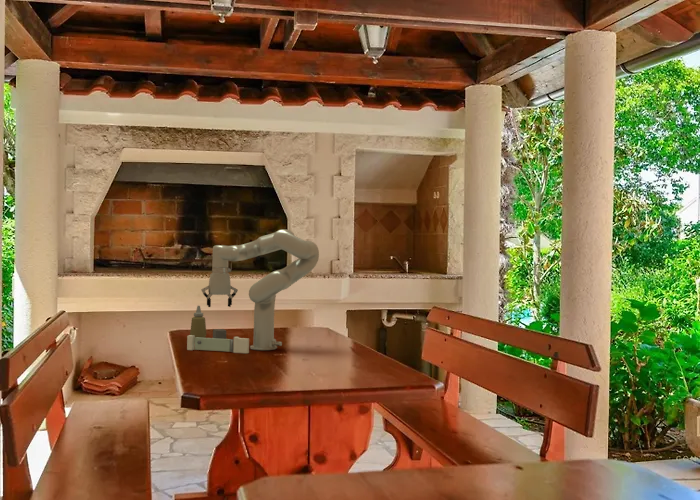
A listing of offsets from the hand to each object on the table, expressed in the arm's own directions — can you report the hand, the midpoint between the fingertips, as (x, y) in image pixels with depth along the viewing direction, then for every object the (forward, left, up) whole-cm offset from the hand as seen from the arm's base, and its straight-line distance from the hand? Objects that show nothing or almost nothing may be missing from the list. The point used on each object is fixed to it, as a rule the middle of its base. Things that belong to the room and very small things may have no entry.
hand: (219, 306), depth 362 cm
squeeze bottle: (+16, -11, -19) cm, 27 cm away
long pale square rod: (-4, +14, -19) cm, 24 cm away
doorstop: (0, 0, -19) cm, 19 cm away
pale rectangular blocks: (-6, +14, -19) cm, 24 cm away
